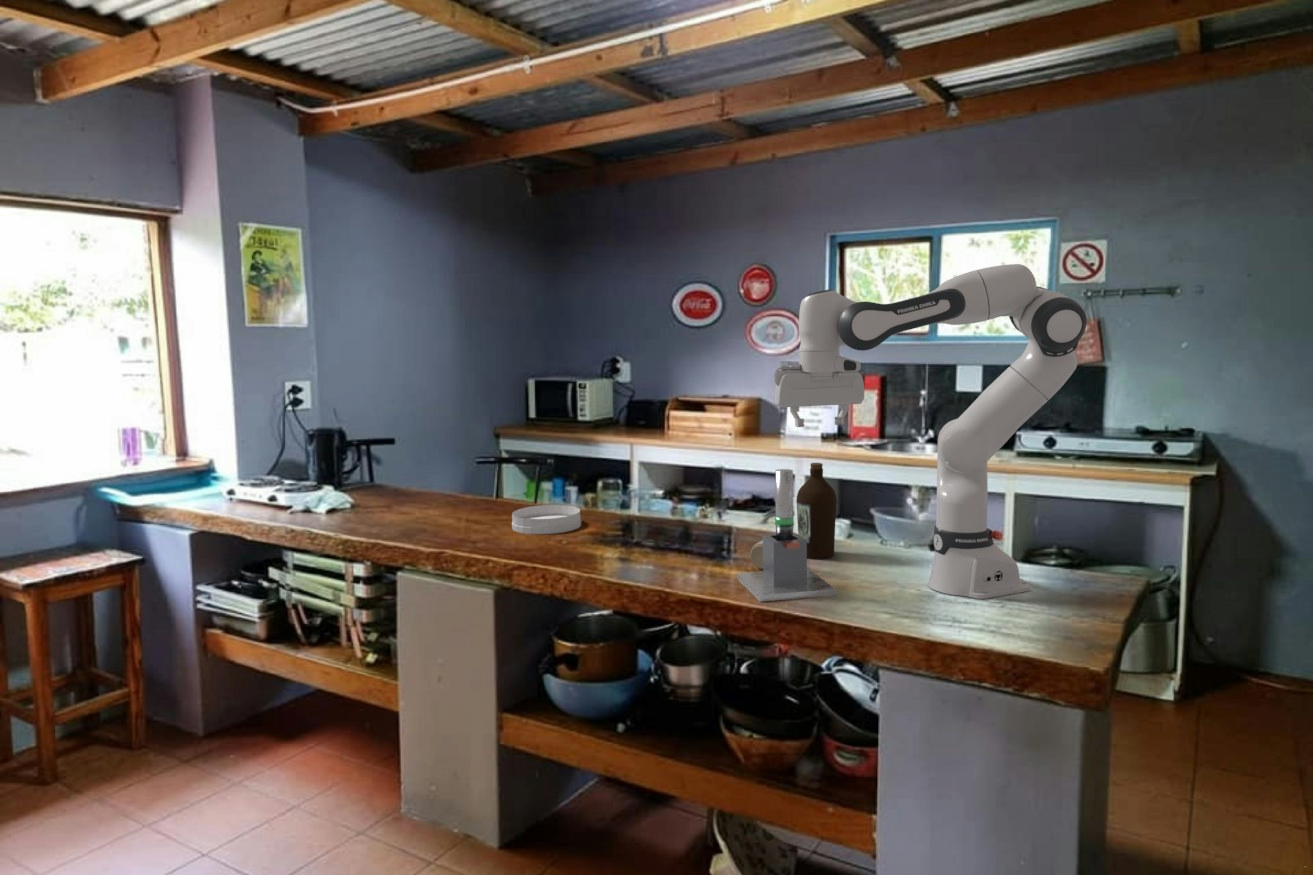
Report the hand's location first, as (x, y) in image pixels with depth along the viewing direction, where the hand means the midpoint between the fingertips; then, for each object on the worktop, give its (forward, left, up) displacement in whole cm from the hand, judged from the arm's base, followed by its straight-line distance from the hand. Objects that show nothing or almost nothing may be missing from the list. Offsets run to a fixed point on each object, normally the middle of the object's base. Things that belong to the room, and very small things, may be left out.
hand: (819, 425), depth 185 cm
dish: (+57, -88, -39) cm, 112 cm away
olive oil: (-12, -32, -39) cm, 52 cm away
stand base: (+6, -7, -39) cm, 40 cm away
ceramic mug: (+3, -23, -39) cm, 46 cm away
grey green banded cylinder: (+6, -7, -29) cm, 30 cm away
